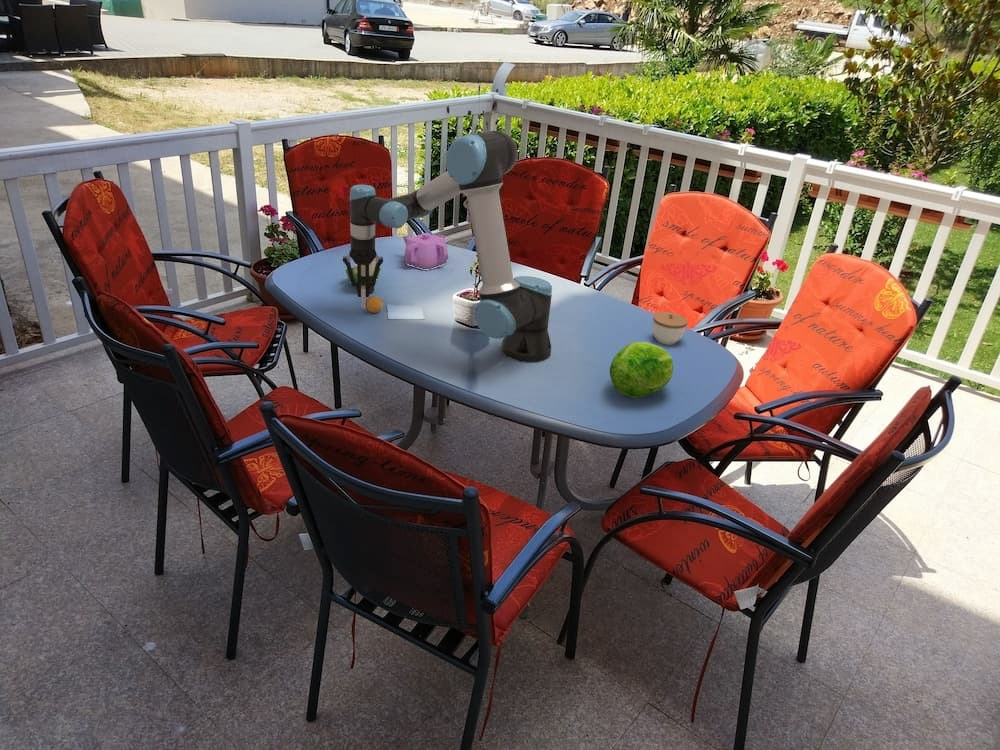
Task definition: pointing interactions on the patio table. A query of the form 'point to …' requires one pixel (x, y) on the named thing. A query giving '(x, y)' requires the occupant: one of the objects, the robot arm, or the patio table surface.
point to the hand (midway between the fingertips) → (363, 305)
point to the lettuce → (641, 369)
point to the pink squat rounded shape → (425, 250)
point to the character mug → (371, 271)
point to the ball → (374, 304)
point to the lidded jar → (668, 327)
